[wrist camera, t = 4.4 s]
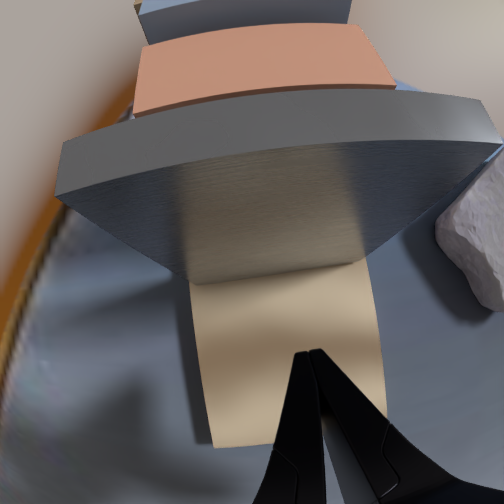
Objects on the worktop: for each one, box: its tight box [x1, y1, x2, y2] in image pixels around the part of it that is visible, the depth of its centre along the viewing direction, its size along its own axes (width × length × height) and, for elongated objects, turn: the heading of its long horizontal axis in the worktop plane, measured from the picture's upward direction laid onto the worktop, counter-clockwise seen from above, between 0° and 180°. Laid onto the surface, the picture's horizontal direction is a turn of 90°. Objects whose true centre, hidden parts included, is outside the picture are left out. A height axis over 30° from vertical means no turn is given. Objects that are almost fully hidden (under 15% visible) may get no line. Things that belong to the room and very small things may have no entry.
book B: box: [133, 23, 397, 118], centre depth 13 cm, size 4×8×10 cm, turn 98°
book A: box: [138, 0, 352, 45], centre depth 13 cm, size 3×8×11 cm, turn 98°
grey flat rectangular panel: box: [54, 89, 503, 286], centre depth 10 cm, size 1×9×12 cm, turn 98°
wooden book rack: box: [134, 0, 387, 448], centre depth 12 cm, size 22×10×11 cm, turn 8°
